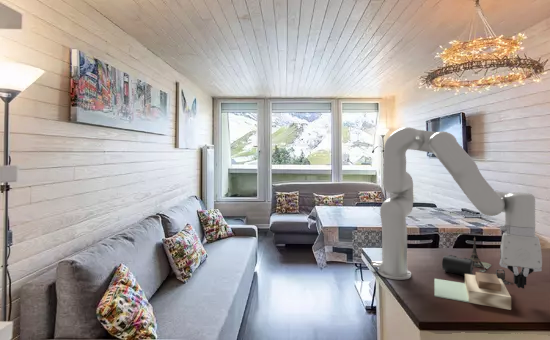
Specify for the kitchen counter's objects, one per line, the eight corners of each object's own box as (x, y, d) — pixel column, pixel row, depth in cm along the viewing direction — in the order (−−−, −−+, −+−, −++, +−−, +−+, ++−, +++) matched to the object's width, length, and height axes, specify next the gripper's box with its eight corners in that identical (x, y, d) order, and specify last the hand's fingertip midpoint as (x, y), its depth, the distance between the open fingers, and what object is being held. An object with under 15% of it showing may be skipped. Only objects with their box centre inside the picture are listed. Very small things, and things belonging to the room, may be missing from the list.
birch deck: (468, 302, 98) (469, 290, 97) (464, 284, 112) (464, 273, 112) (511, 310, 92) (511, 297, 92) (501, 289, 106) (501, 278, 106)
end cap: (441, 273, 123) (442, 257, 123) (446, 268, 128) (446, 252, 128) (470, 279, 116) (470, 262, 116) (474, 274, 121) (474, 258, 121)
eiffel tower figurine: (484, 273, 123) (484, 241, 122) (457, 267, 130) (457, 237, 130) (494, 264, 133) (494, 235, 132) (467, 259, 140) (467, 231, 140)
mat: (434, 296, 102) (434, 295, 102) (434, 279, 116) (434, 278, 116) (470, 302, 97) (470, 301, 97) (466, 284, 111) (466, 283, 111)
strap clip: (489, 276, 120) (489, 265, 120) (498, 276, 119) (498, 265, 119) (502, 284, 111) (502, 273, 111) (511, 285, 111) (511, 273, 111)
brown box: (478, 288, 99) (478, 280, 99) (475, 278, 107) (475, 271, 107) (501, 291, 96) (501, 284, 96) (496, 281, 104) (496, 274, 104)
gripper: (493, 231, 97) (493, 286, 98) (554, 235, 90) (554, 295, 91) (490, 226, 104) (490, 278, 104) (546, 230, 97) (546, 286, 97)
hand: (519, 286), depth 97 cm, fingers closed
